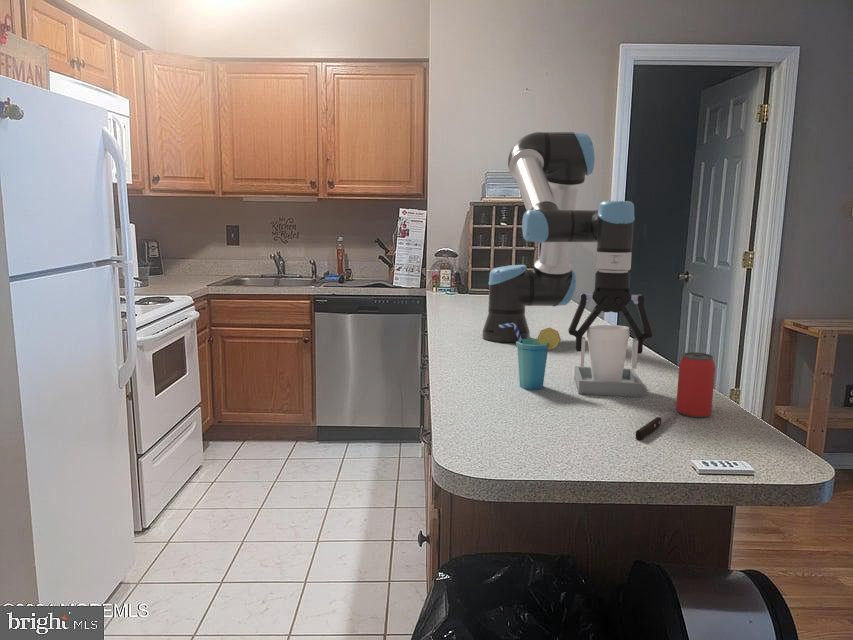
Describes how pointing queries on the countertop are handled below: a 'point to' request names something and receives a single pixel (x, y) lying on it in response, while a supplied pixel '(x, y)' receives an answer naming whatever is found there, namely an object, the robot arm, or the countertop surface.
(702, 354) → the beer can
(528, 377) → the cup
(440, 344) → the countertop surface
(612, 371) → the foam cup
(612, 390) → the tray
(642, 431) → the kitchen knife
